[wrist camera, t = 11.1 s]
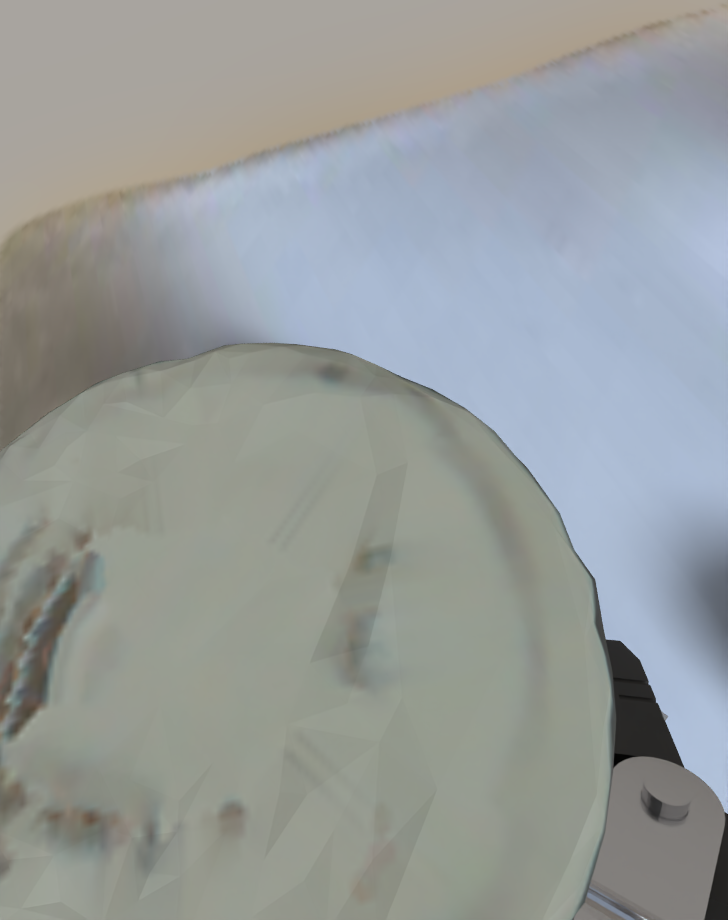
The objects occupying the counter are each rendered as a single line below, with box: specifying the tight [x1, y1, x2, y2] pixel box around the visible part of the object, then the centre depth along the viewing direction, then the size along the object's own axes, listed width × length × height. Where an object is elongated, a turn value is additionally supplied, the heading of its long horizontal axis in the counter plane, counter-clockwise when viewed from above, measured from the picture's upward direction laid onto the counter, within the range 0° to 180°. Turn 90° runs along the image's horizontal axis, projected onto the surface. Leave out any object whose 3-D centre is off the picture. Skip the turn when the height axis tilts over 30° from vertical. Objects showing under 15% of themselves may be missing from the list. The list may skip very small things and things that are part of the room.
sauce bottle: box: [0, 343, 616, 920], centre depth 12 cm, size 7×6×20 cm
